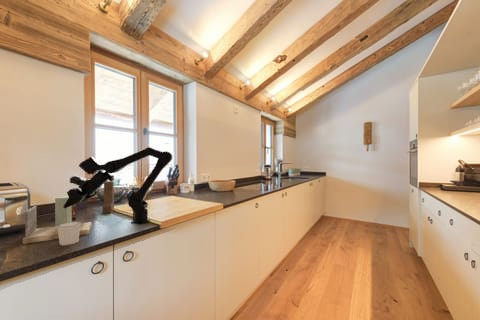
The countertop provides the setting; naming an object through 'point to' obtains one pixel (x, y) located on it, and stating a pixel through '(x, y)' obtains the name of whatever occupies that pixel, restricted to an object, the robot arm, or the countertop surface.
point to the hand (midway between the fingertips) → (70, 205)
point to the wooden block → (108, 197)
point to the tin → (74, 211)
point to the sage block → (62, 211)
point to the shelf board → (45, 229)
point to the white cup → (69, 233)
